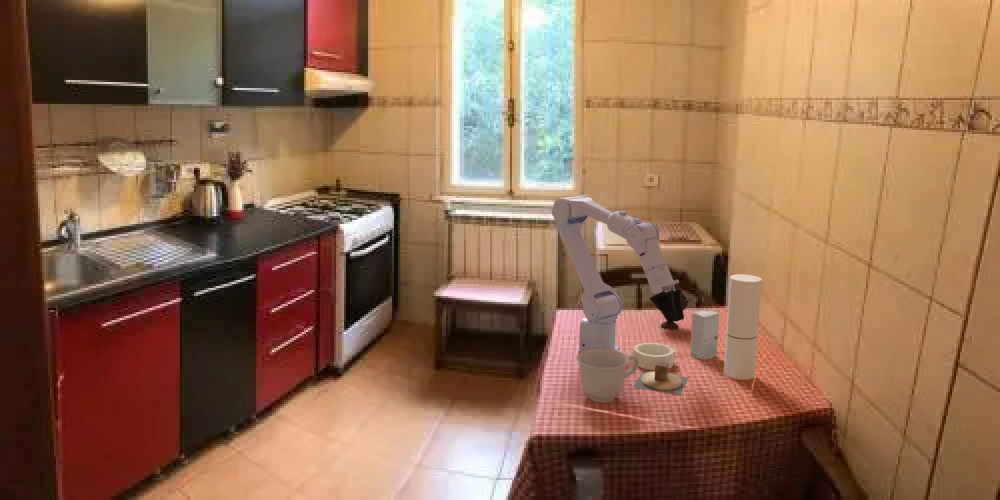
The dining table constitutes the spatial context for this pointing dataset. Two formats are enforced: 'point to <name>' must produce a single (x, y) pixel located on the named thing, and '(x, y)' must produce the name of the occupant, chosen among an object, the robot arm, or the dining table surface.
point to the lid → (661, 378)
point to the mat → (675, 391)
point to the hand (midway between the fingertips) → (676, 321)
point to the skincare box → (704, 334)
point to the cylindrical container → (742, 326)
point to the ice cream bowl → (684, 304)
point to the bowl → (653, 355)
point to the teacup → (604, 372)
